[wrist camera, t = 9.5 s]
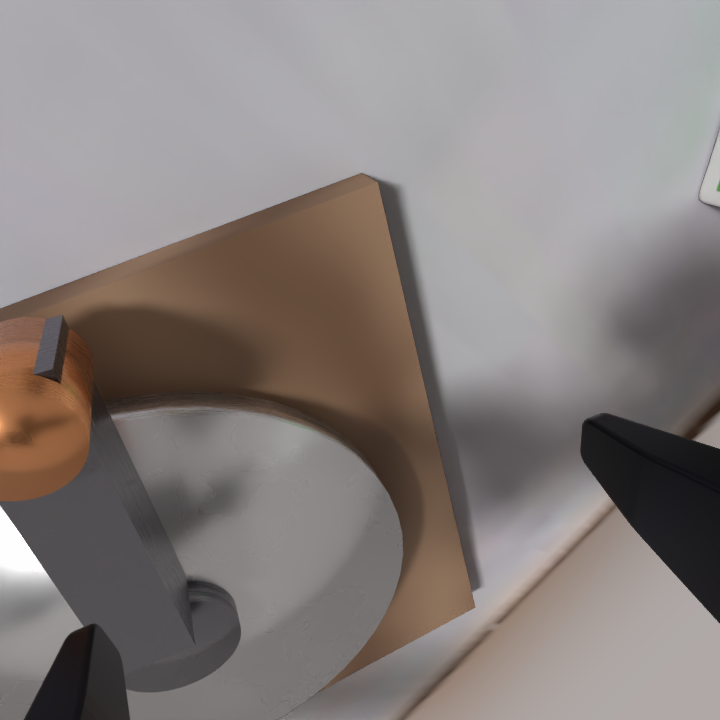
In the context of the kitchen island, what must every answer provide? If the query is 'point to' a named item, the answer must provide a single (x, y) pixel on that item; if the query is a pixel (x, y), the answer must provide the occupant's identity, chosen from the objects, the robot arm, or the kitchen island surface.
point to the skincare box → (712, 178)
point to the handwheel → (181, 538)
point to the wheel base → (291, 359)
